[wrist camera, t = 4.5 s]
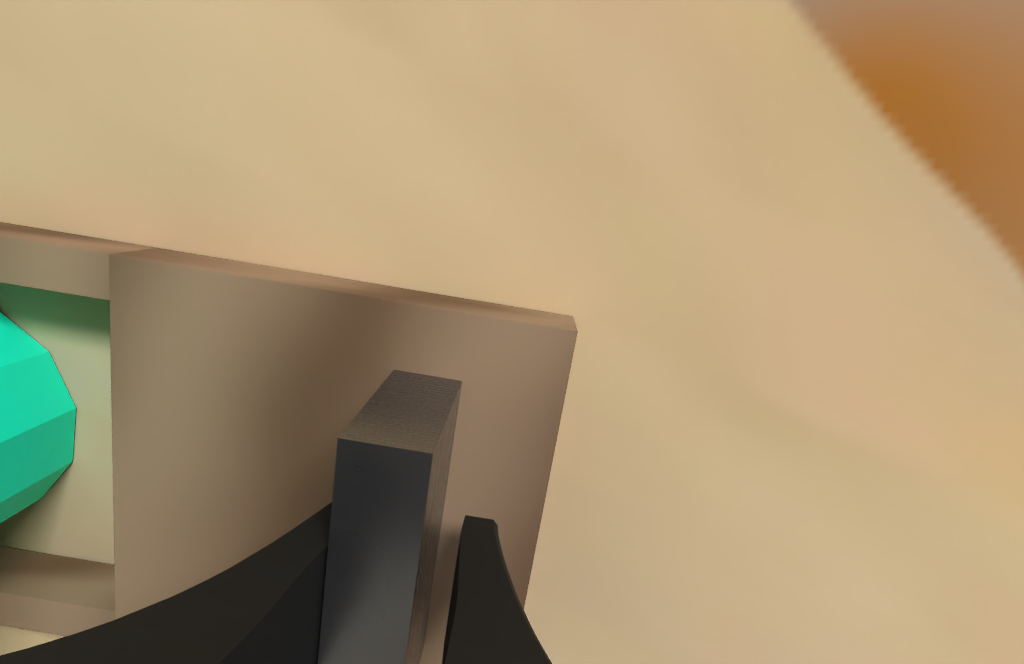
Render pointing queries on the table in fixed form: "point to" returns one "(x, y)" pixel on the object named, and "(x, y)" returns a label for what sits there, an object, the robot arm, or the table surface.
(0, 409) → the candle
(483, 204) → the table surface
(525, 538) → the brown compartment tray
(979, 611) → the table surface
